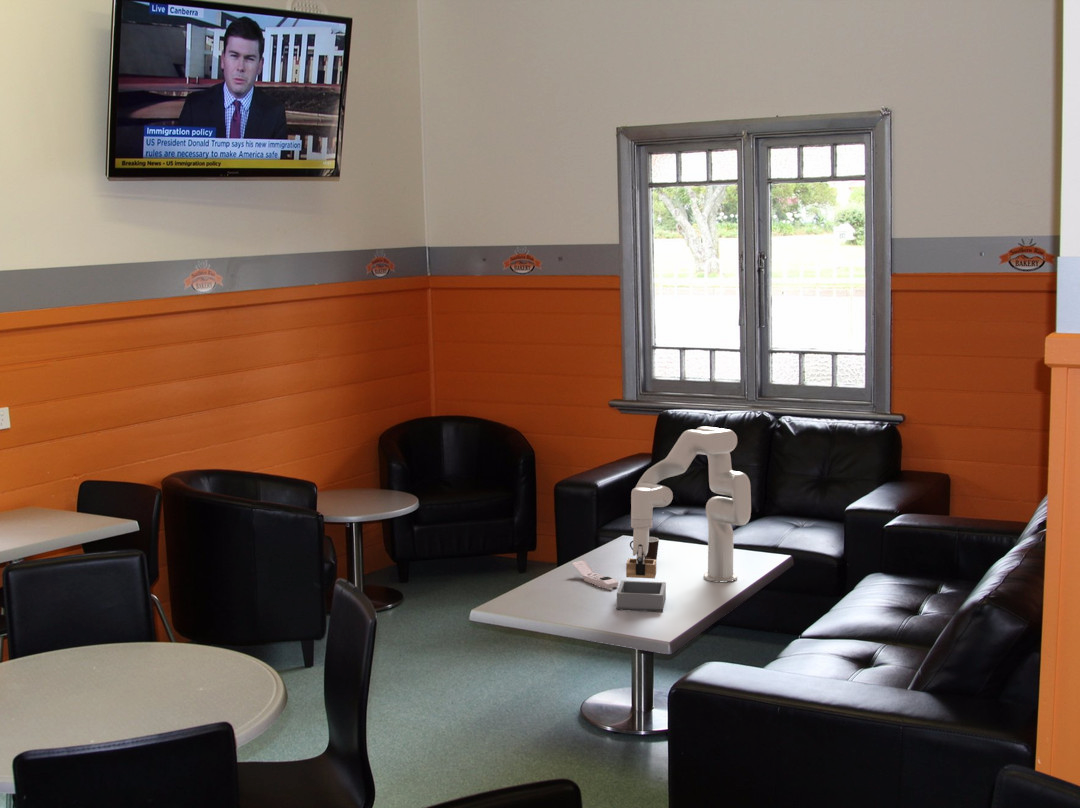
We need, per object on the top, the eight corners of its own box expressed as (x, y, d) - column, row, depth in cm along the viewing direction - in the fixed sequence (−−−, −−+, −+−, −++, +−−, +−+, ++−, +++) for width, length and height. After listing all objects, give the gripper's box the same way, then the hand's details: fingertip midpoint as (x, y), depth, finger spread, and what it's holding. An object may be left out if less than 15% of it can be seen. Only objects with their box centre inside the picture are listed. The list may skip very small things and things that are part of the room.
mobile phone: (583, 559, 445) (622, 573, 424) (583, 574, 446) (622, 589, 425) (570, 562, 442) (609, 576, 421) (571, 577, 442) (609, 592, 422)
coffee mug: (663, 564, 458) (663, 540, 457) (646, 567, 453) (646, 543, 452) (644, 558, 468) (644, 534, 466) (628, 561, 463) (628, 537, 462)
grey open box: (621, 596, 415) (621, 580, 415) (665, 598, 413) (665, 582, 412) (616, 609, 400) (616, 593, 399) (662, 612, 397) (662, 595, 396)
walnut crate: (628, 572, 409) (628, 558, 408) (656, 573, 407) (656, 559, 407) (626, 577, 402) (626, 563, 401) (654, 578, 400) (654, 564, 400)
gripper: (633, 516, 411) (632, 565, 414) (628, 527, 395) (628, 578, 397) (654, 517, 410) (653, 566, 412) (650, 528, 393) (650, 579, 395)
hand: (641, 571), depth 405 cm, fingers closed on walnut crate, 7 cm apart
